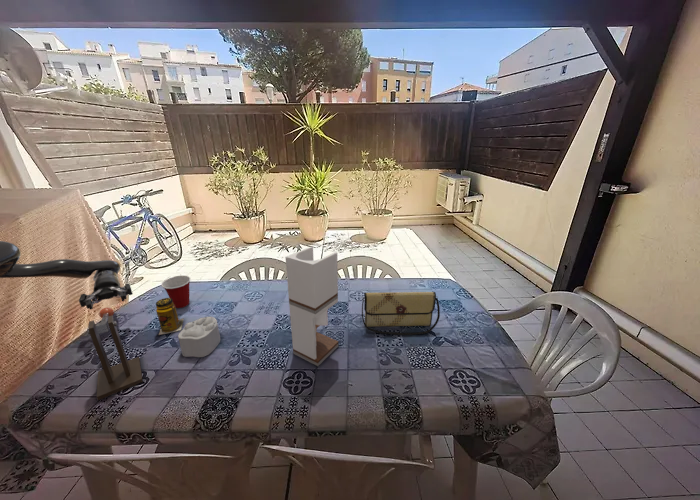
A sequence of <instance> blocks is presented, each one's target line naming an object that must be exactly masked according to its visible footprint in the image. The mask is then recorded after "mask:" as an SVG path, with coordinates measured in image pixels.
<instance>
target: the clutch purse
mask: <svg viewBox="0 0 700 500" xmlns="http://www.w3.org/2000/svg"><path fill="white" fill-rule="evenodd" d="M360 299H361V300H362V303H361V319H362V323H363V325H364V327H365V328H366V329H367V330H368V331H371V332H374V333H377V334H383V335H398V336H414V335H415V336H416V335H425V334H428V333H430V332H432V331H433V330H434V329H435V327H436V326H437V324H438V323H439V320H440V317H441V310H440V308H441V307H440V301H439V296H438V295H437V293H436V292H435V291H399V292H398V291H397V292H396V291H395V292H393V291H392V292H391V291H389V292H388V291H387V292H364V293H363V296H361V297H360ZM435 309H436V310H437V315H436V316H437V317H436V319H435V322H434V323H433V322H432V321H433V313H434V310H435ZM432 323H433V325H432ZM371 327H373V328H374V327H430V328H429V329H427V330H425V331H419V332H394V331H393V332H391V331H382V330H376V329H373V328H371Z"/></svg>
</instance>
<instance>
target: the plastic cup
mask: <svg viewBox="0 0 700 500" xmlns="http://www.w3.org/2000/svg"><path fill="white" fill-rule="evenodd" d="M190 282H191V277H190V276H189V275H175V276H172V277H169V278H166V279H165V280H163V281H162V282H161V284H160V285H161V287H162V288H163V289H164V290H165V292H166V293H167V296H168V298H171V299H172V300H173V304H174V305H175V307H176V309H181V308H182V309H183V308H185V307H187V306H188V305H189V304H190Z"/></svg>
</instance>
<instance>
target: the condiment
mask: <svg viewBox="0 0 700 500" xmlns="http://www.w3.org/2000/svg"><path fill="white" fill-rule="evenodd" d="M155 306H156V311H155V312H156V315H157V319H158V322H159V325H160V330H159V333H158V336H160V335H166V334H170V333H175V332H179V331H182V329H183V323H184V320H185V319H184V318H180V319H179V315H178V312H177V308H176V307H175V305H174V304H173V300H172V299H171V298H169V297H164V298H161V299H158V300H157V301H156V302H155Z"/></svg>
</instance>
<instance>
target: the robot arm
mask: <svg viewBox="0 0 700 500" xmlns="http://www.w3.org/2000/svg"><path fill="white" fill-rule="evenodd" d="M21 255H22V254H21V249H20V248H19V246H17V245H16V244H14V243H13V242H9V241H5V240H4V241H3V240H0V279H14V278H42V277H43V278H44V277H46V278H47V277H50V278H51V277H53V278H54V277H55V278H70V279H88V278H90V276H91V275H93V273H94V275H93V278H92V280H93V282H94V283H93V291H92V292H91V294H86V293H82V294H80V295H79V296H80V297H79V299H78V302H79V305H80V307H81V308H84V307H86V309H87V310H88V309H89V310H93V309H94V304H98V303H100V302H102V301H105V300H111V299H113V298H118V299H119V298H120V300H121V302H124V301H126V300H127V296H132V295H133V294H134V293H133V291H132V287H131V284H130V283H126V284H125V285H124V286H121V283H120V280H119V276H118V274H119V272H120V270H121V264H120V263H119V262H117V261H116V260H111V259H103V260H102V259H101V260H90V261H89V260H88V261H86V260H78V259H69V258H61V259H53V260H48V261H41V262H35V263H17V262H19V260H20V258H21Z"/></svg>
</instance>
